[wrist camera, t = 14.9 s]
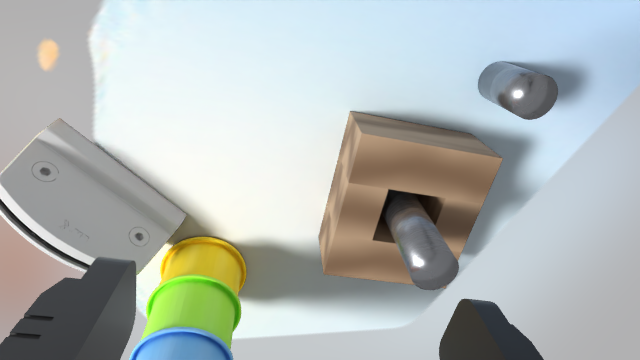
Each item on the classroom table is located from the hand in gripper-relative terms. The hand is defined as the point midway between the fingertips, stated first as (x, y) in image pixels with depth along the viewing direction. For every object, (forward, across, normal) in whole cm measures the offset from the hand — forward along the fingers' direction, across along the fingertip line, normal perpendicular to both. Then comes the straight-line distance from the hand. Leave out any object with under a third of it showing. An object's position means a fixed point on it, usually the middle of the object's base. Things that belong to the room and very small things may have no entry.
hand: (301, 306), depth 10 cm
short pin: (+32, -22, -3) cm, 39 cm away
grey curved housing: (+32, +17, +17) cm, 41 cm away
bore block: (+32, -14, +11) cm, 37 cm away
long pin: (+32, -14, +11) cm, 37 cm away
